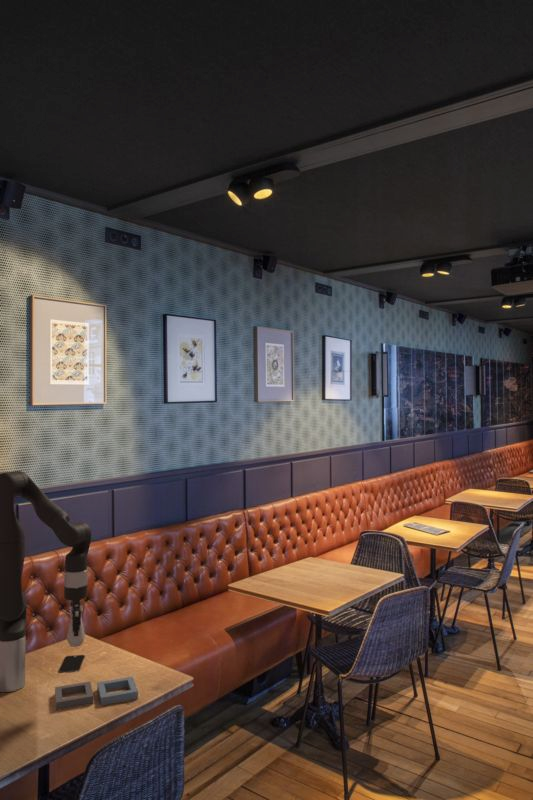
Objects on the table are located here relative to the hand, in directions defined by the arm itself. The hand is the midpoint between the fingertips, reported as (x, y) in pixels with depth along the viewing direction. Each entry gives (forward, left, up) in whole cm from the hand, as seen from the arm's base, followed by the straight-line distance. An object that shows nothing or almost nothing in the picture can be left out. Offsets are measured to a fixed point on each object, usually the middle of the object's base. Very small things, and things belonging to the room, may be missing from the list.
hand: (75, 635), depth 195 cm
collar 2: (+13, -2, -21) cm, 25 cm away
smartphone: (0, +30, -22) cm, 37 cm away
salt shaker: (0, 0, -3) cm, 3 cm away
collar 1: (-1, 0, -21) cm, 21 cm away
